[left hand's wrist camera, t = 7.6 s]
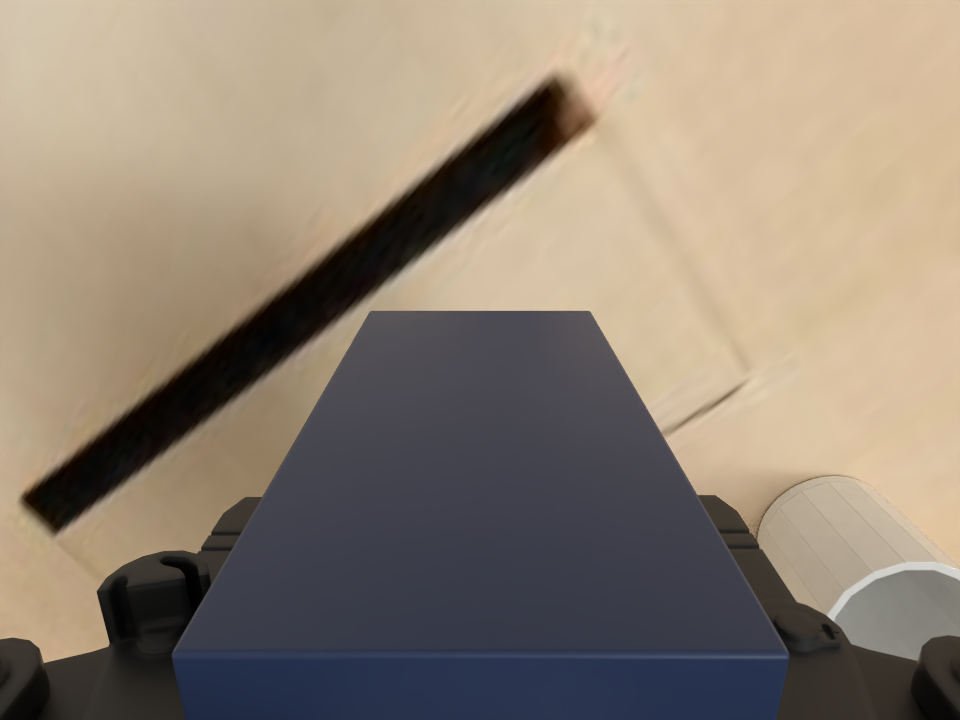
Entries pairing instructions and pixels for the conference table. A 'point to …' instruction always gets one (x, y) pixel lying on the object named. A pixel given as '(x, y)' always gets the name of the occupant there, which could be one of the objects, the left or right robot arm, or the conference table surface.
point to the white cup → (862, 565)
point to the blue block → (480, 548)
